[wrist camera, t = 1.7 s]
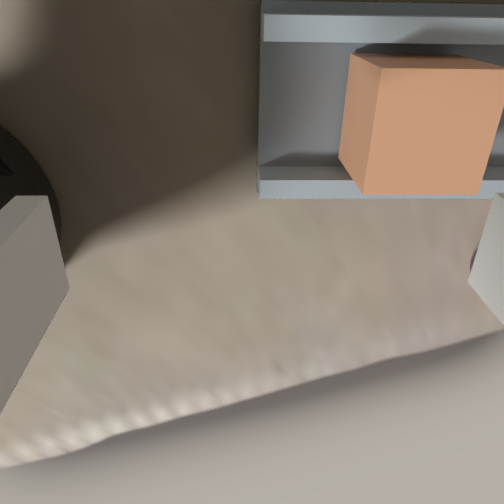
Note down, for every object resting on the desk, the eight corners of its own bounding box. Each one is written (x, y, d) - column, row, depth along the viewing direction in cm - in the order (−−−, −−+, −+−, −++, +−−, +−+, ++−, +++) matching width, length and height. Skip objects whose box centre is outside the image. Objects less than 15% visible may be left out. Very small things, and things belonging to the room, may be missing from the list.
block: (338, 157, 28) (362, 194, 22) (350, 53, 25) (381, 68, 19) (432, 157, 28) (478, 194, 23) (455, 54, 25) (514, 69, 20)
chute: (256, 186, 30) (259, 208, 27) (260, 0, 24) (265, 0, 21) (487, 186, 31) (515, 207, 28) (542, 4, 25) (584, 5, 22)
